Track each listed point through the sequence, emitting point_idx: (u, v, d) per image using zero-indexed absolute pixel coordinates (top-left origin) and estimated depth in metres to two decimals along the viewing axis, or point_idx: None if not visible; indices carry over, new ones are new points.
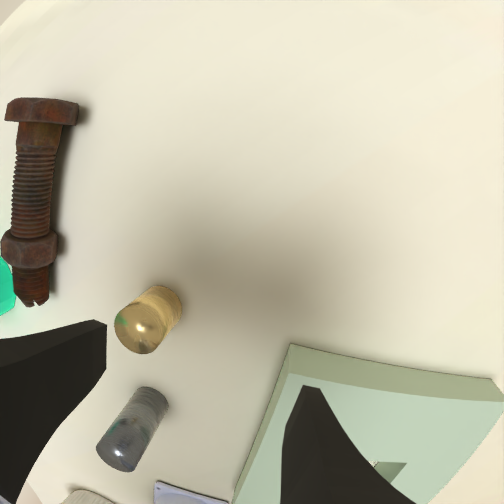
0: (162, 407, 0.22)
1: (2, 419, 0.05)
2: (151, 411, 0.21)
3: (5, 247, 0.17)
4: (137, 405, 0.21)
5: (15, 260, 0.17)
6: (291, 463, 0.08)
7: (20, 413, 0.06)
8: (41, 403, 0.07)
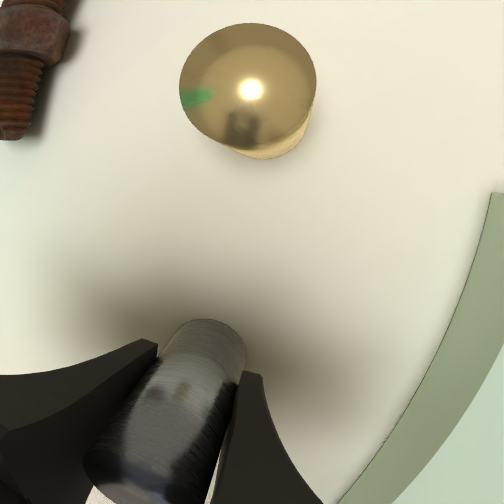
0: (240, 359, 0.11)
1: (64, 460, 0.05)
2: (224, 364, 0.10)
3: None
4: (189, 351, 0.09)
5: None
6: (224, 448, 0.08)
7: (80, 450, 0.06)
8: (98, 434, 0.07)
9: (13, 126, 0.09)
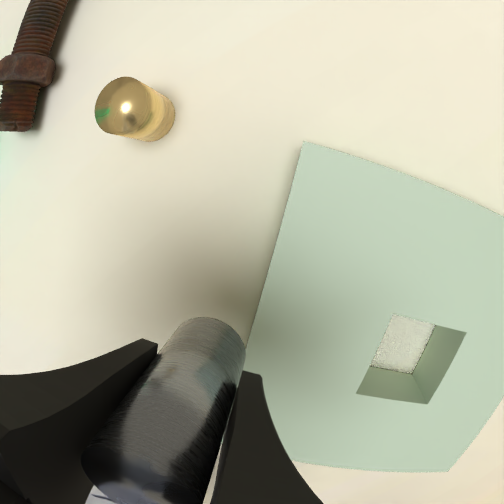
0: (239, 358, 0.11)
1: (64, 461, 0.05)
2: (223, 362, 0.10)
3: (1, 64, 0.13)
4: (189, 349, 0.09)
5: (8, 72, 0.14)
6: (224, 448, 0.08)
7: (80, 450, 0.06)
8: None
9: (23, 123, 0.16)
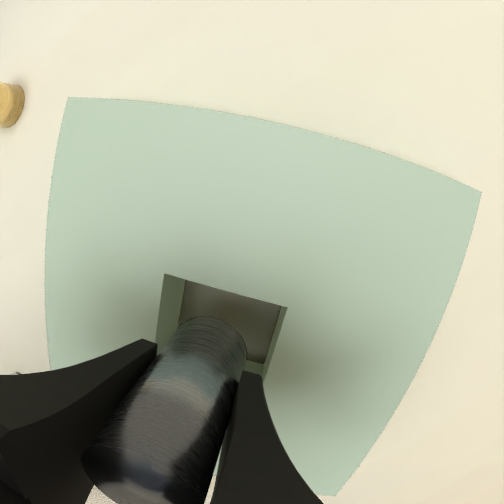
0: (240, 357, 0.11)
1: (64, 460, 0.05)
2: (225, 361, 0.10)
3: None
4: (190, 348, 0.09)
5: None
6: (224, 448, 0.08)
7: (80, 450, 0.06)
8: None
9: None
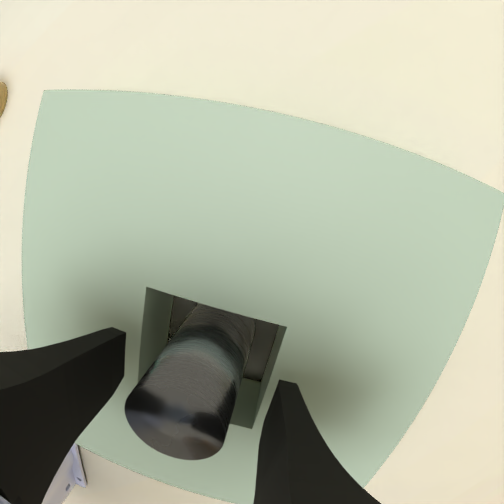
0: (250, 327, 0.13)
1: (24, 435, 0.05)
2: (239, 328, 0.12)
3: None
4: (210, 316, 0.12)
5: None
6: (265, 458, 0.08)
7: (42, 428, 0.06)
8: (62, 415, 0.07)
9: None
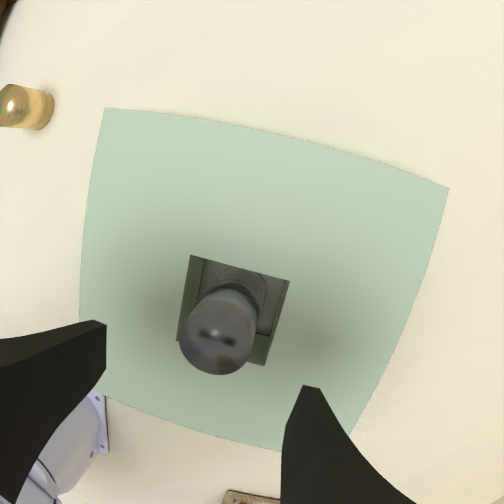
0: (262, 289, 0.18)
1: (2, 419, 0.05)
2: (255, 286, 0.17)
3: None
4: (235, 277, 0.17)
5: None
6: (291, 463, 0.08)
7: (20, 413, 0.06)
8: (41, 403, 0.07)
9: None
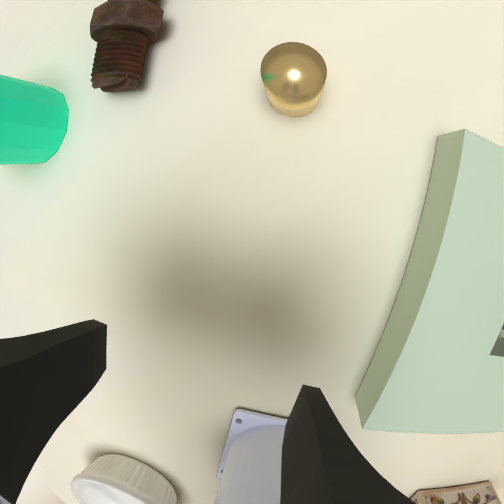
0: None
1: (2, 419, 0.05)
2: None
3: (102, 10, 0.13)
4: None
5: (115, 16, 0.13)
6: (291, 463, 0.08)
7: (20, 413, 0.06)
8: (41, 403, 0.07)
9: (134, 76, 0.15)
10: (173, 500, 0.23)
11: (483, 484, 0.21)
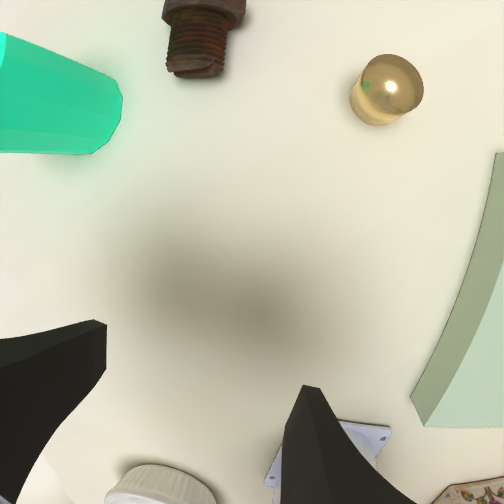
0: None
1: (2, 419, 0.05)
2: None
3: None
4: None
5: None
6: (291, 463, 0.08)
7: (20, 413, 0.06)
8: (41, 403, 0.07)
9: (219, 62, 0.15)
10: None
11: None
